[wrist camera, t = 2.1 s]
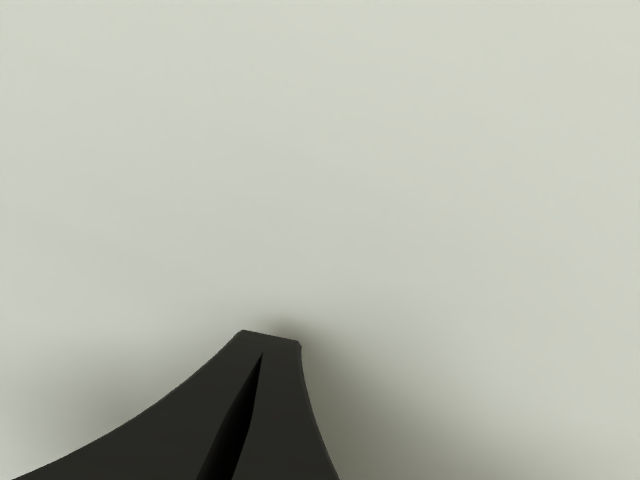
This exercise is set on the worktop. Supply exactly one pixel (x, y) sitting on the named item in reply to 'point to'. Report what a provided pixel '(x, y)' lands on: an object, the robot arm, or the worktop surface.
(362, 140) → the worktop surface
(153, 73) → the worktop surface
